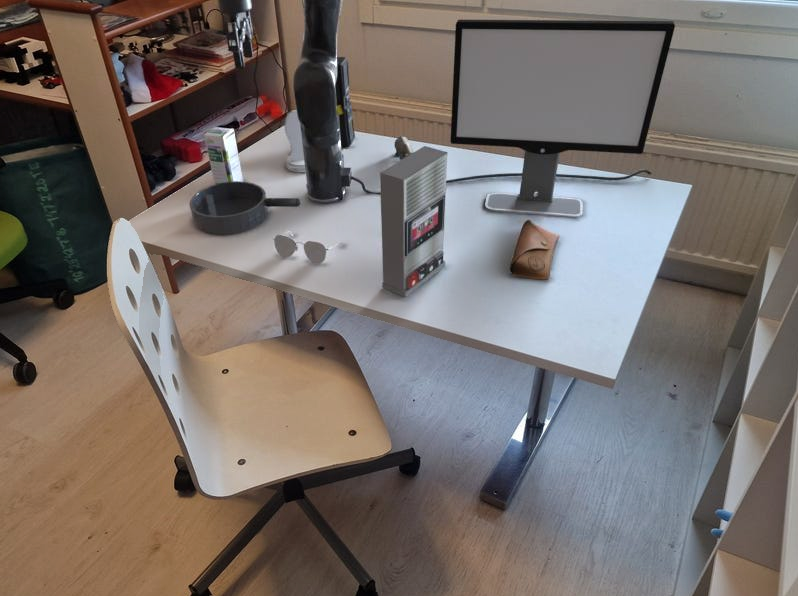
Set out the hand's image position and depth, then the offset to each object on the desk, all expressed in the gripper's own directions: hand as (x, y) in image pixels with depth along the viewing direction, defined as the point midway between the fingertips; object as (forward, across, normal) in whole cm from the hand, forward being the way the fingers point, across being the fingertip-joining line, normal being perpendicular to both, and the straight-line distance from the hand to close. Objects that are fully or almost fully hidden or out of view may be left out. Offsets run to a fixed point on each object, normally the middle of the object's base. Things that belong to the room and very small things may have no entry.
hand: (244, 62), depth 155 cm
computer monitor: (+28, -19, -71) cm, 79 cm away
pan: (+28, -25, +2) cm, 38 cm away
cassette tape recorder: (+28, -50, -44) cm, 72 cm away
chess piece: (+28, +4, -11) cm, 31 cm away
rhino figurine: (+28, +4, -39) cm, 48 cm away
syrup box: (+28, -8, +7) cm, 30 cm away
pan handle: (+25, -25, -11) cm, 37 cm away
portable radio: (+28, +18, -20) cm, 39 cm away
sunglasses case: (+28, -41, -69) cm, 85 cm away
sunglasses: (+28, -40, -20) cm, 53 cm away
